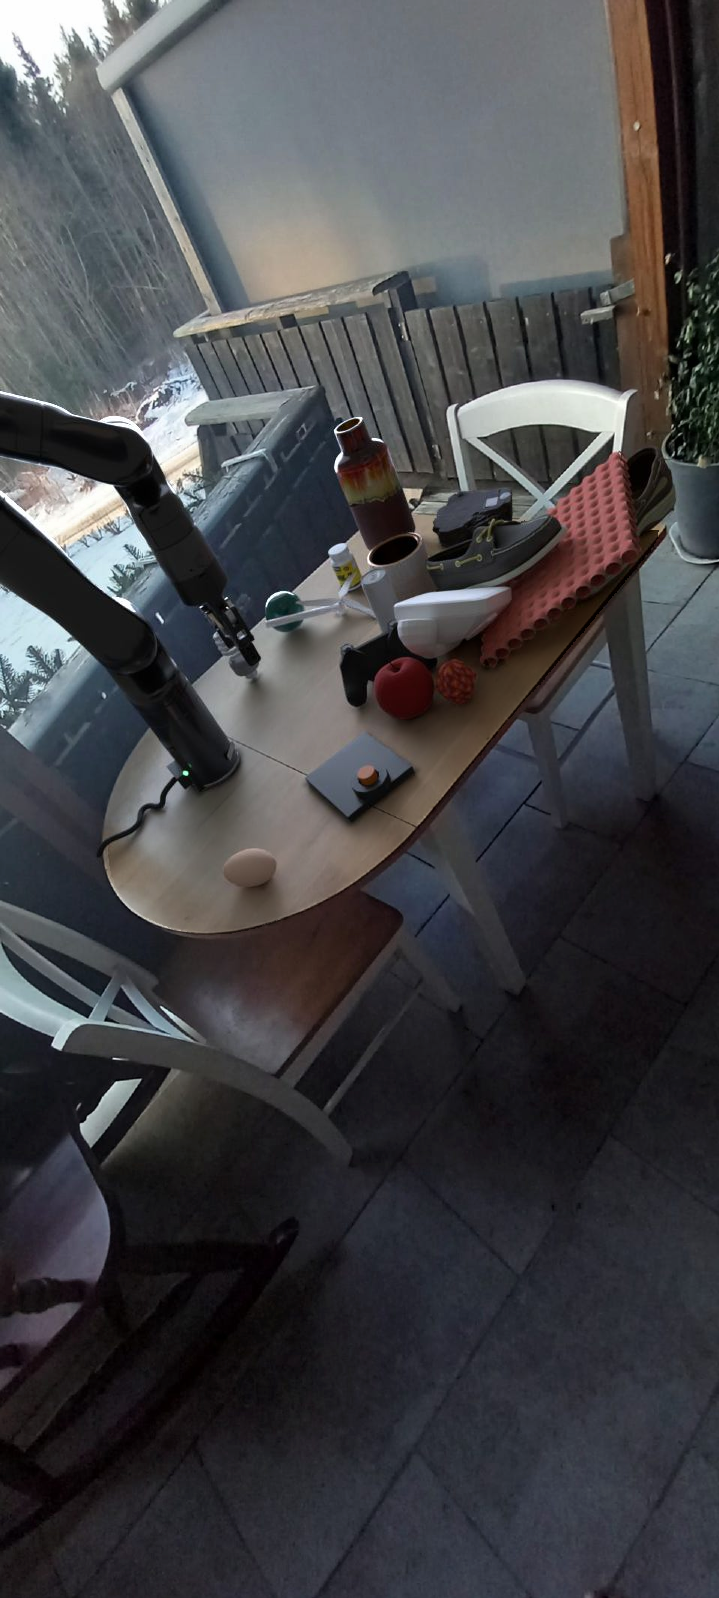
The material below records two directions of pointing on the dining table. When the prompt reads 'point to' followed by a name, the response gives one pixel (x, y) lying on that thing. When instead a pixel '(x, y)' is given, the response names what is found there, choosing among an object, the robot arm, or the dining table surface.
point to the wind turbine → (328, 608)
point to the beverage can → (380, 596)
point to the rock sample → (471, 514)
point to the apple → (404, 688)
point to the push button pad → (342, 781)
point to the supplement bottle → (345, 565)
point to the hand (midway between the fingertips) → (244, 653)
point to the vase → (371, 484)
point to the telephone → (447, 618)
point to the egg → (250, 867)
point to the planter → (403, 564)
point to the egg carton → (570, 558)
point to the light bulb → (236, 659)
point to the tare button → (367, 775)
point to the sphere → (283, 609)
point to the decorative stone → (455, 681)
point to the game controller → (372, 662)
